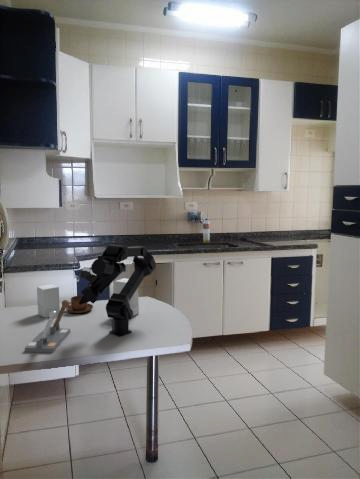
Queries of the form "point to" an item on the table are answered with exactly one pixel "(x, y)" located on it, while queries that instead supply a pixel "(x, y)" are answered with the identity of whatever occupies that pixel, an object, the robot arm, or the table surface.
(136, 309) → the skincare box
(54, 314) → the steel lever
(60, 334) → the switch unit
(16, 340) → the table surface
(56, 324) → the walnut lever
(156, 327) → the table surface
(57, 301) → the supplement box
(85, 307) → the cup and saucer
